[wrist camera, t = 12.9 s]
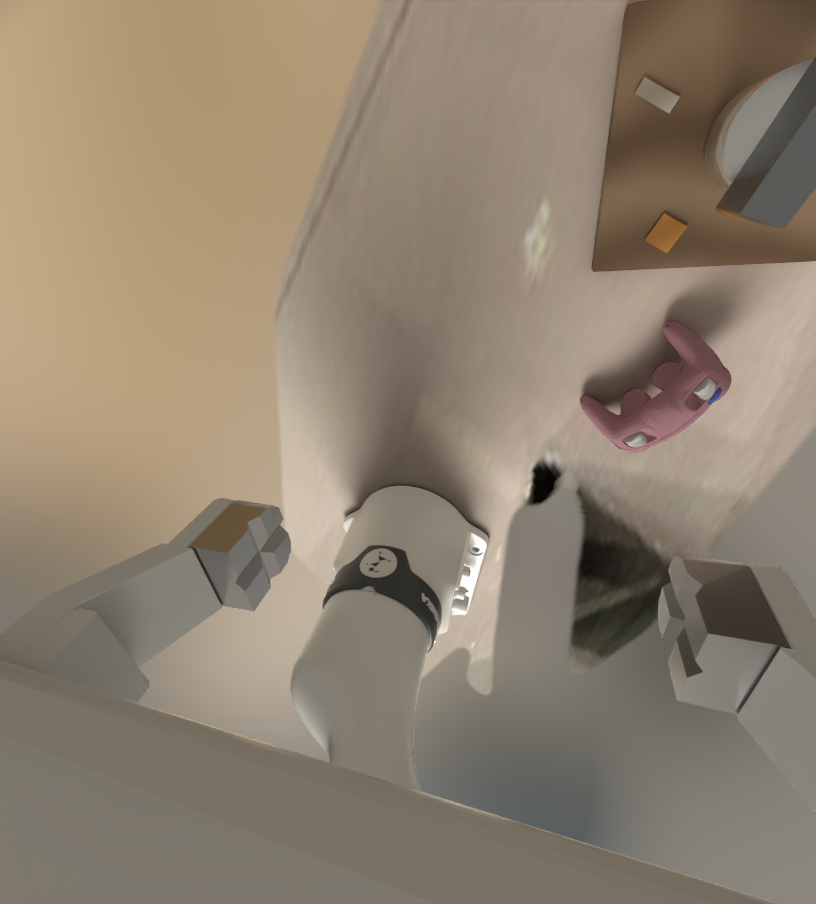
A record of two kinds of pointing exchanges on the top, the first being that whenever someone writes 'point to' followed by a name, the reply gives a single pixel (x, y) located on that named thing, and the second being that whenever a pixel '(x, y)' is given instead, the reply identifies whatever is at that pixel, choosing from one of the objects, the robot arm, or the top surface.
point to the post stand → (692, 133)
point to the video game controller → (665, 396)
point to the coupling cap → (766, 147)
